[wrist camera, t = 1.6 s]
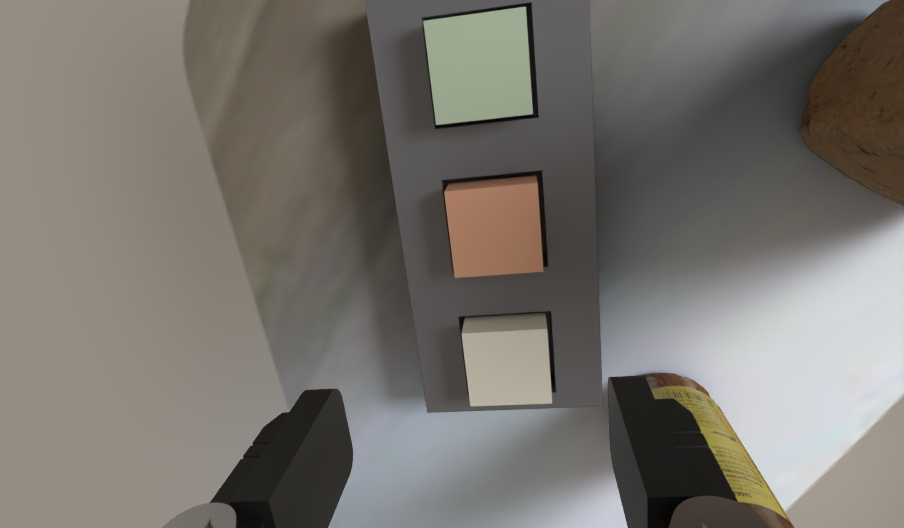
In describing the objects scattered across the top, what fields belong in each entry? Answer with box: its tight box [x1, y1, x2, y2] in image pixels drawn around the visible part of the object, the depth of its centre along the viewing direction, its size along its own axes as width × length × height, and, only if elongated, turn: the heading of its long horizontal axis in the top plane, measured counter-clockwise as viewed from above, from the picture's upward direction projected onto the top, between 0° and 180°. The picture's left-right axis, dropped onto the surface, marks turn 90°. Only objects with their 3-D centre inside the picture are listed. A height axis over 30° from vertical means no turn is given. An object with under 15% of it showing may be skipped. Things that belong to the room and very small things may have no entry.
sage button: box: [423, 7, 533, 125], centre depth 25 cm, size 4×4×2 cm
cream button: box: [462, 313, 552, 406], centre depth 30 cm, size 4×4×2 cm
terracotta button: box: [444, 175, 543, 278], centre depth 27 cm, size 4×4×2 cm
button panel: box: [365, 0, 603, 413], centre depth 29 cm, size 22×10×3 cm, turn 7°
